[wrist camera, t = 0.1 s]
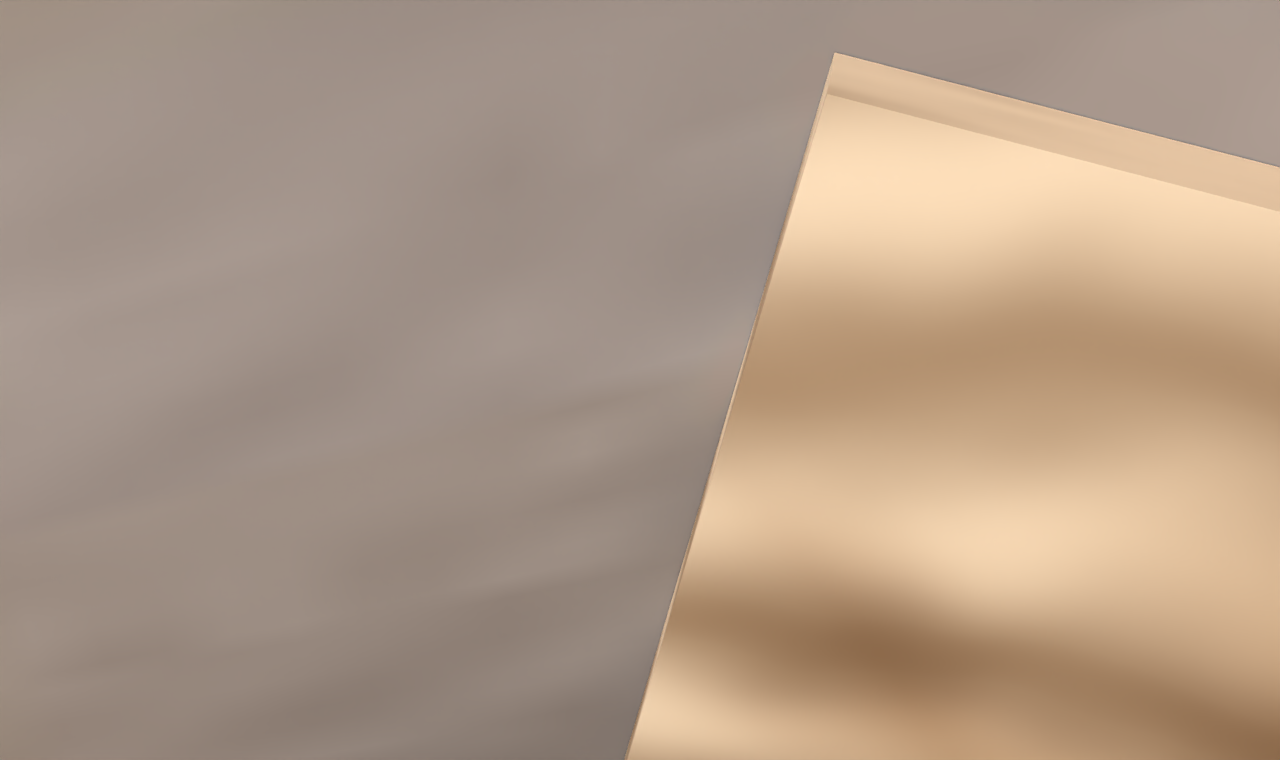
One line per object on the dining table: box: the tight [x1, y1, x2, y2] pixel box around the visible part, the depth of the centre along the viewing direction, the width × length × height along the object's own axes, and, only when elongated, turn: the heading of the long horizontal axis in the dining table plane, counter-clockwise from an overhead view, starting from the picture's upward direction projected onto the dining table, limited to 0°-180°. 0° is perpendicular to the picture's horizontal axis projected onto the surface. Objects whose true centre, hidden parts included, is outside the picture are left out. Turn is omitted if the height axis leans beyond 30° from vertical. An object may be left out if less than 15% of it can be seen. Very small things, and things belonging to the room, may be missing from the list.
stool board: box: [624, 53, 1280, 760], centre depth 25 cm, size 23×24×2 cm
